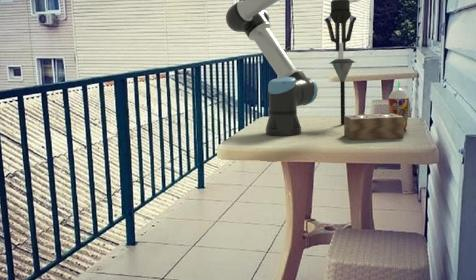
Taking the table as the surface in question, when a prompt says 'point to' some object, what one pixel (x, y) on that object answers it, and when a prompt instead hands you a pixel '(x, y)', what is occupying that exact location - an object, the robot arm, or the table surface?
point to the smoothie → (399, 103)
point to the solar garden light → (342, 79)
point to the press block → (374, 126)
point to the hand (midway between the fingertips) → (340, 59)
